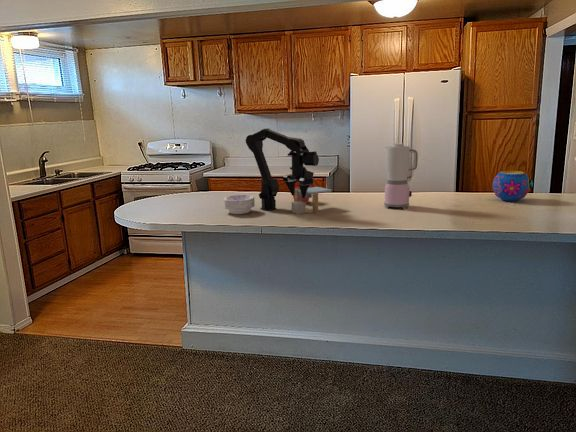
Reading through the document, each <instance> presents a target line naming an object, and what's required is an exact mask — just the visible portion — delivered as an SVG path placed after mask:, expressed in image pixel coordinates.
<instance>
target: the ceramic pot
mask: <svg viewBox="0 0 576 432" xmlns="http://www.w3.org/2000/svg"><path fill="white" fill-rule="evenodd" d="M533 186H534V181H533V180H532V179H531V178H530V177H529V176H528V174H526V172H524V171H520V170H503V171H502V170H501V171H499V172H498V173H497V174H496V176H495V177H494V178H493V182H492V190H493V193H494V195H495V196H496V197H497V198H498V199H500V200H502V201H506V202H517V201H519V200H522V199H524V198H525V197H526V196H527V195H528V193H529V192H530V190H531V189H532V188H534V187H533Z"/></svg>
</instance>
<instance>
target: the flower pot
mask: <svg viewBox="0 0 576 432" xmlns="http://www.w3.org/2000/svg"><path fill="white" fill-rule="evenodd" d="M299 185H300V183H295V189H298V188H299V189H300V187H299ZM308 188H312V185H310V186H309V187H308ZM292 198H293V202H295V191H294V195H292ZM301 202H305V203H306V204H308V203H309V202H310V198H306V197H305V198H302V196H301Z"/></svg>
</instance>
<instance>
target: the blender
mask: <svg viewBox="0 0 576 432" xmlns="http://www.w3.org/2000/svg"><path fill="white" fill-rule="evenodd" d="M385 149H386V159H385V163H386V164H385V167H386V176H387V182H386V183H385V185H384V203H383V204H384V207H385V209H390V207H391V208H402V209H403V210H405V209H407V208H408V206H410V198H411V197H412V195H413V194H412V193H413V192H412V191H411V190H410V186H409V185H410V184H409V183H408V176H409V171H414V170H416V169H418V168H417V167H418V157H419V154H418V153H419V152H418V151H417V150H416V149H411V148H410V146H409V145H405V144H404V143H400V142H396V143H395V142H394V143H393V144H392V145H389V146H388V145H387V146H385ZM411 154H413V166H410V164H411V163H410V159H411V157H410V156H411Z"/></svg>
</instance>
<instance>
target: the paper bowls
mask: <svg viewBox="0 0 576 432" xmlns="http://www.w3.org/2000/svg"><path fill="white" fill-rule="evenodd" d="M223 203H224V205H223V206H224V209H226V210H228V212H229V213H230V214H232V215H244V214H248V213H250V212H251V211H252V208H254V207H256V203H255V196H253V194H252V195H251V194H233V195H228V196H225V197H224V198H223Z"/></svg>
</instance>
